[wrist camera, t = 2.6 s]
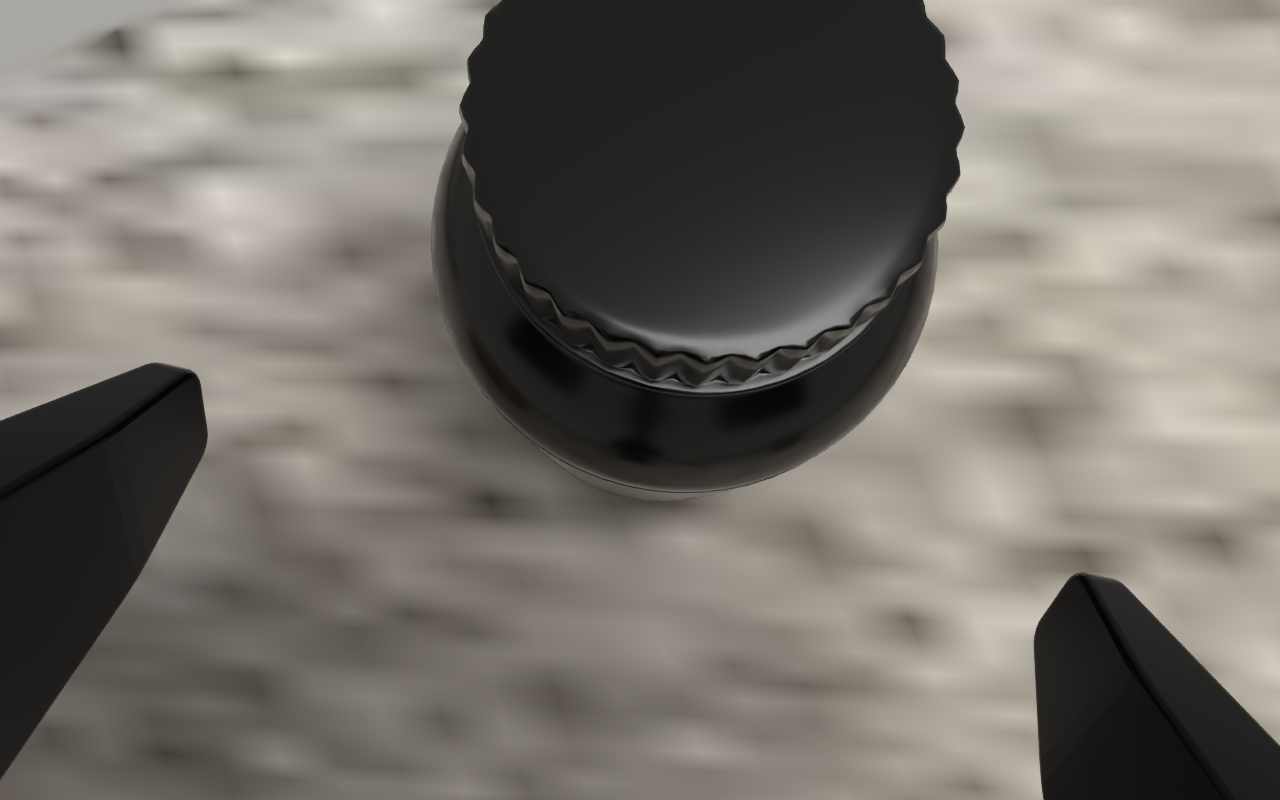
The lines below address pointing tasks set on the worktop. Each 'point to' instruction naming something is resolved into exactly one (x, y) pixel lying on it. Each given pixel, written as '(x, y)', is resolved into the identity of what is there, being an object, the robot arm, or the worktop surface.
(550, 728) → the worktop surface
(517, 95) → the supplement bottle
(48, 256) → the worktop surface
